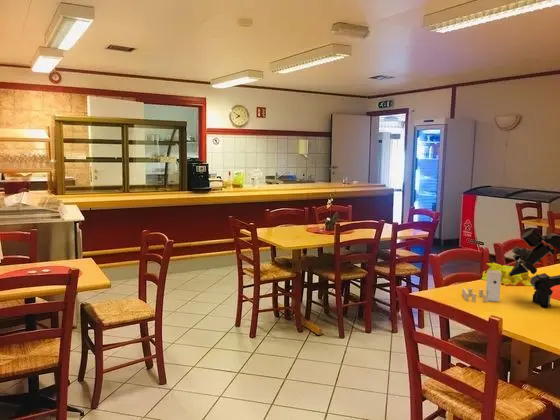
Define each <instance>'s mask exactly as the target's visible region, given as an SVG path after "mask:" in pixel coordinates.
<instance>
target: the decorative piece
mask: <svg viewBox="0 0 560 420" xmlns="http://www.w3.org/2000/svg"><path fill="white" fill-rule="evenodd" d="M485 264H486V265H487V266H488V267H489V268H488V269H487V270H496V271H499V272H500V273H501V283H500V284H501V285H500V286H504V285H505V286H504V287H533V286H532V285H531V283H530V280H531V278H532V277H533V276H530V274H529V272H530V271H529V270H528V273H527V272H526V273H522V274H517V275H514V276H510V275H509V273H510V272H511V271H512V269H513V268H514V266H515V265H514V266H513V265H511V266H510V265H505V264H503V265H502V264H499V263H496V262H492V263H490V262H489V263H488V262H487V263H485ZM485 272H486V273H485ZM481 280H483V281H485V280H487V271H486V270H484V271H483V272H482V277H481Z"/></svg>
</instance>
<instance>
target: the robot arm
mask: <svg viewBox="0 0 560 420" xmlns="http://www.w3.org/2000/svg"><path fill="white" fill-rule="evenodd" d="M521 239H522V241H524V242H525V244H527V245H528V247H530V248H532V249H526V248H524V247H522V248H520V247H518V246H517V245H515V246H514V248H513V249H512V252H511V253H513V254H514V255H512V258H513V259H514V261H515V265H514V268H513V269H512V271H511V272H510V273H509V275H510V276H514V275H517V274H522V273H526V272H527V273H528V272H530V274H532V275H534V276H531V277H532V278H531V280H530V283H531V285H532V286H531V287H533V289H534V290H535V291H534V293H533V294H532V301H531V302H532V303H533V304H537V305H539V307H540V308H546V309H547V308H549V307H551V306H552V303H551V296H552V294H553V293H554V291H553V290H552V289H551V288H553V287H555V286H560V274H559V275H553V276H551V275H550V276H549V275H548V274H547V273H545V272H543V273H538V274H536V273H537V272H538V268H537V267H535V265H536V264H537V263H538V262H539V263H540V262H541V261H542V259H543V258H544V257H546V256H547V255H549V254H550V255H552V256H554V255H555V249H556V248H557V249H560V235H558V234H557V233H553V232H551V233H549V234H547V235H540V234H539V233H538V232H537V230H536V229H535V228H531V229H530V230H528V231H525V232H524V233H523V234H522V235H521ZM544 243H545V244H544ZM550 246H551V247H550ZM552 247H553V248H552ZM528 270H529V271H528Z"/></svg>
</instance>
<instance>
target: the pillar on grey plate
mask: <svg viewBox="0 0 560 420" xmlns="http://www.w3.org/2000/svg"><path fill="white" fill-rule="evenodd" d="M486 272H487V281H486V284H485V285H486V286H485V294H487V302H494V303H495V302H497V303H499V302H500V295H501V294H500V292H501V285H500V283H501V273H500V272H499V271H496V270H488V269H487V270H486Z"/></svg>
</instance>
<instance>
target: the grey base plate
mask: <svg viewBox="0 0 560 420" xmlns="http://www.w3.org/2000/svg"><path fill="white" fill-rule="evenodd" d="M461 296H462V297H463V298H464V300H465V302H469V301H470V300H469V298H470V297H471V302H474V303H475V302H476V301H477V293H473V288H468V290H467V289H466V288H465V287H462V295H461ZM478 297H479V298H482V302H483V303H486V304H487V303H488V301H487V294H486V293H484V288H483V289H482V288H479V290H478Z"/></svg>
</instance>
